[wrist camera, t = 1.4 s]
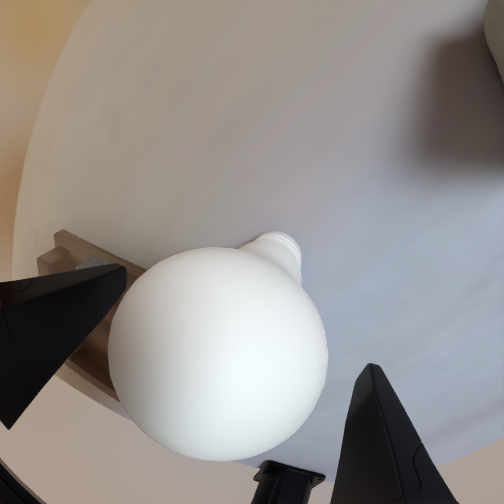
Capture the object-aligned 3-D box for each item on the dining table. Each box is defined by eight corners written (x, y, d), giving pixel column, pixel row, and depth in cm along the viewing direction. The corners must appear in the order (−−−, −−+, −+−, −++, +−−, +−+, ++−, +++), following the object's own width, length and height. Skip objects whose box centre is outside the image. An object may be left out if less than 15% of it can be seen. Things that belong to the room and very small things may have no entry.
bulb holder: (186, 405, 23) (168, 433, 20) (79, 342, 26) (58, 361, 22) (204, 293, 17) (175, 327, 14) (62, 228, 20) (30, 244, 17)
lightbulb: (205, 210, 15) (29, 332, 6) (318, 173, 13) (228, 312, 3) (247, 309, 17) (148, 474, 7) (353, 289, 14) (330, 504, 5)
